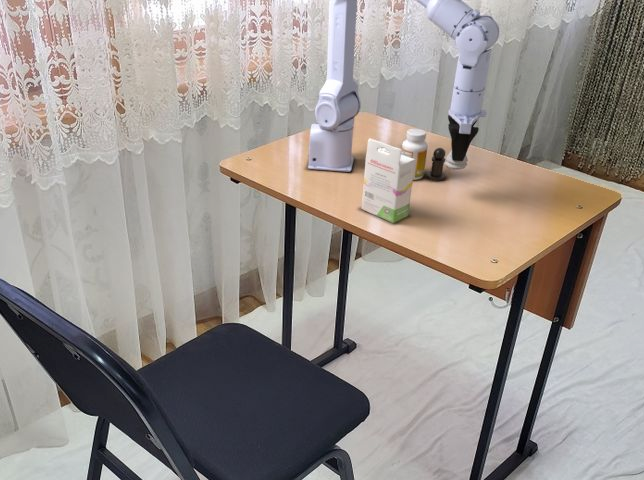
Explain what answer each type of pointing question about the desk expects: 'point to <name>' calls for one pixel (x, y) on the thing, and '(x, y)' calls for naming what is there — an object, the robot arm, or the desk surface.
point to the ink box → (387, 181)
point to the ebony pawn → (437, 166)
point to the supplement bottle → (416, 150)
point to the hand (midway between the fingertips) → (457, 156)
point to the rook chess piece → (455, 162)
